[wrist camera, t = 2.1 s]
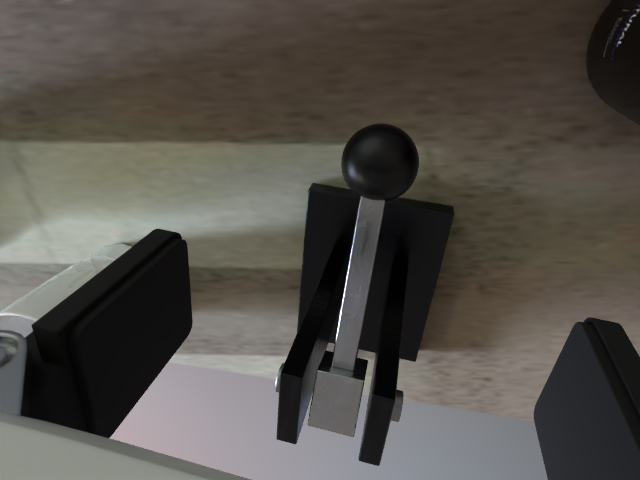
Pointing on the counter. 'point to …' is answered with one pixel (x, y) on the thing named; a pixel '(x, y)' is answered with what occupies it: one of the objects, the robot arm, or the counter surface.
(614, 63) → the supplement bottle
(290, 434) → the black lever stand
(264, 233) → the counter surface
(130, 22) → the counter surface
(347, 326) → the tap lever
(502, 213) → the counter surface
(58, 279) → the white cup
